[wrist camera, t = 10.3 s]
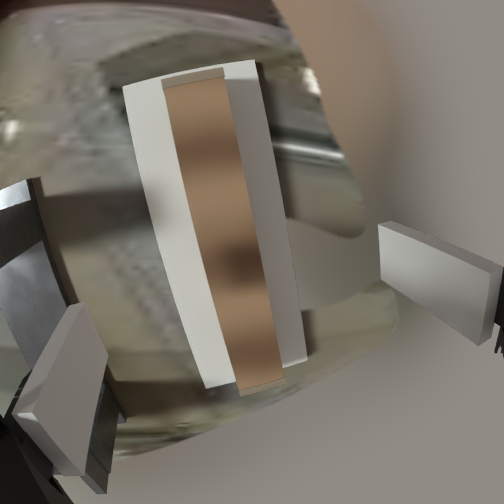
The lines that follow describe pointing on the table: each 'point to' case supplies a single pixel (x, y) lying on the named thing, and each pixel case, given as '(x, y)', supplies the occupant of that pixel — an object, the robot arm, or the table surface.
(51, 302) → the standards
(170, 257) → the mat
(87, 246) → the table surface
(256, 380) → the rail
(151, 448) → the table surface
